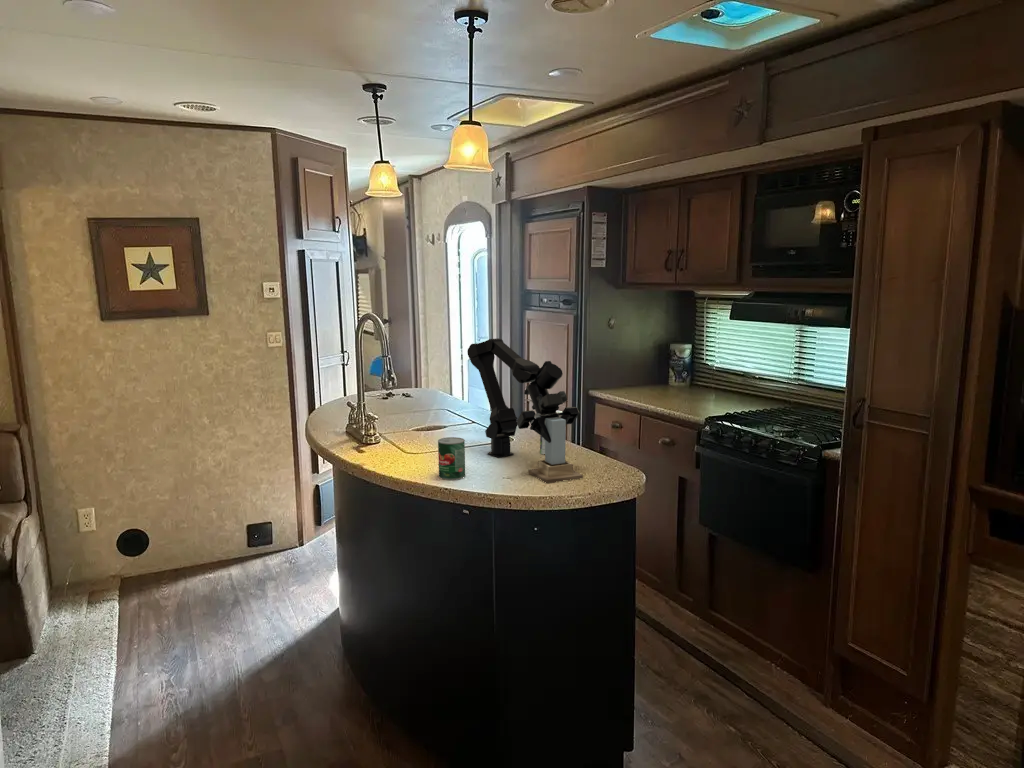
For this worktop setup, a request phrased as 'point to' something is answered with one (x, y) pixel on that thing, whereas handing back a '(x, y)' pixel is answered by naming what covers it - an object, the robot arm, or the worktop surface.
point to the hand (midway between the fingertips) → (557, 441)
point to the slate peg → (555, 440)
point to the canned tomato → (451, 458)
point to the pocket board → (555, 472)
